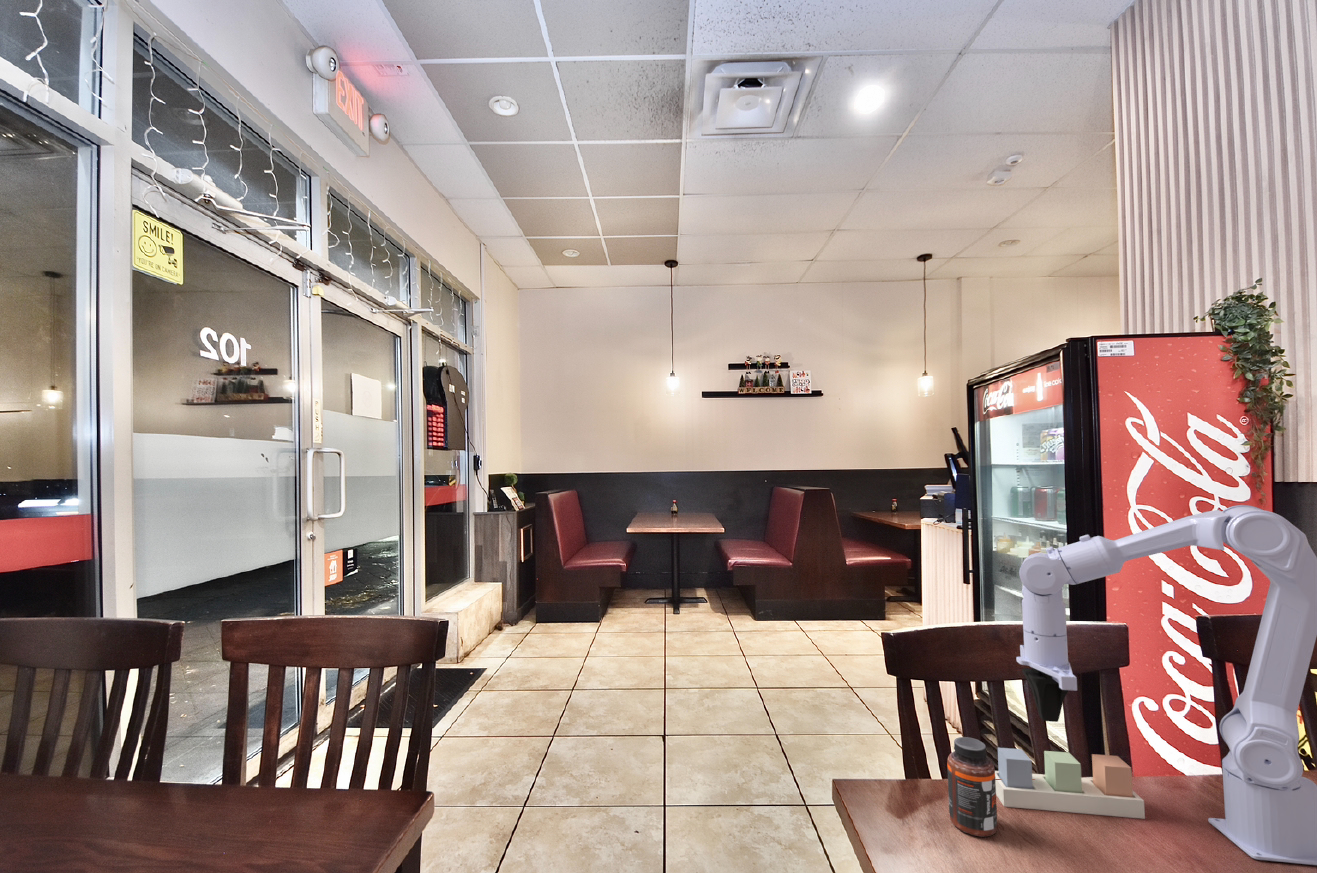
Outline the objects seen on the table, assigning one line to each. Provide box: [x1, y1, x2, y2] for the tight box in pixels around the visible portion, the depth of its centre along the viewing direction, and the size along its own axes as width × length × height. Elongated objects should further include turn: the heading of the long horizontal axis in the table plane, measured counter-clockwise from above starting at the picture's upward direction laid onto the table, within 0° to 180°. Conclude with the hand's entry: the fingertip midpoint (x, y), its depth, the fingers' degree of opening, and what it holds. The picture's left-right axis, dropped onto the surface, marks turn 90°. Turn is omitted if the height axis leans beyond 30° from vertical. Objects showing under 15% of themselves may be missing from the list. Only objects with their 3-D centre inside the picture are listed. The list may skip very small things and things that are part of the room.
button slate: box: [997, 747, 1033, 789], centre depth 87 cm, size 3×3×4 cm
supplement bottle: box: [947, 736, 998, 837], centre depth 81 cm, size 6×6×11 cm
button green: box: [1043, 750, 1082, 793], centre depth 86 cm, size 3×3×4 cm
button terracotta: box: [1091, 753, 1134, 798], centre depth 85 cm, size 3×3×4 cm
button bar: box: [995, 770, 1146, 820], centre depth 86 cm, size 18×5×2 cm, turn 79°
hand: (1048, 719), depth 90 cm, fingers closed
